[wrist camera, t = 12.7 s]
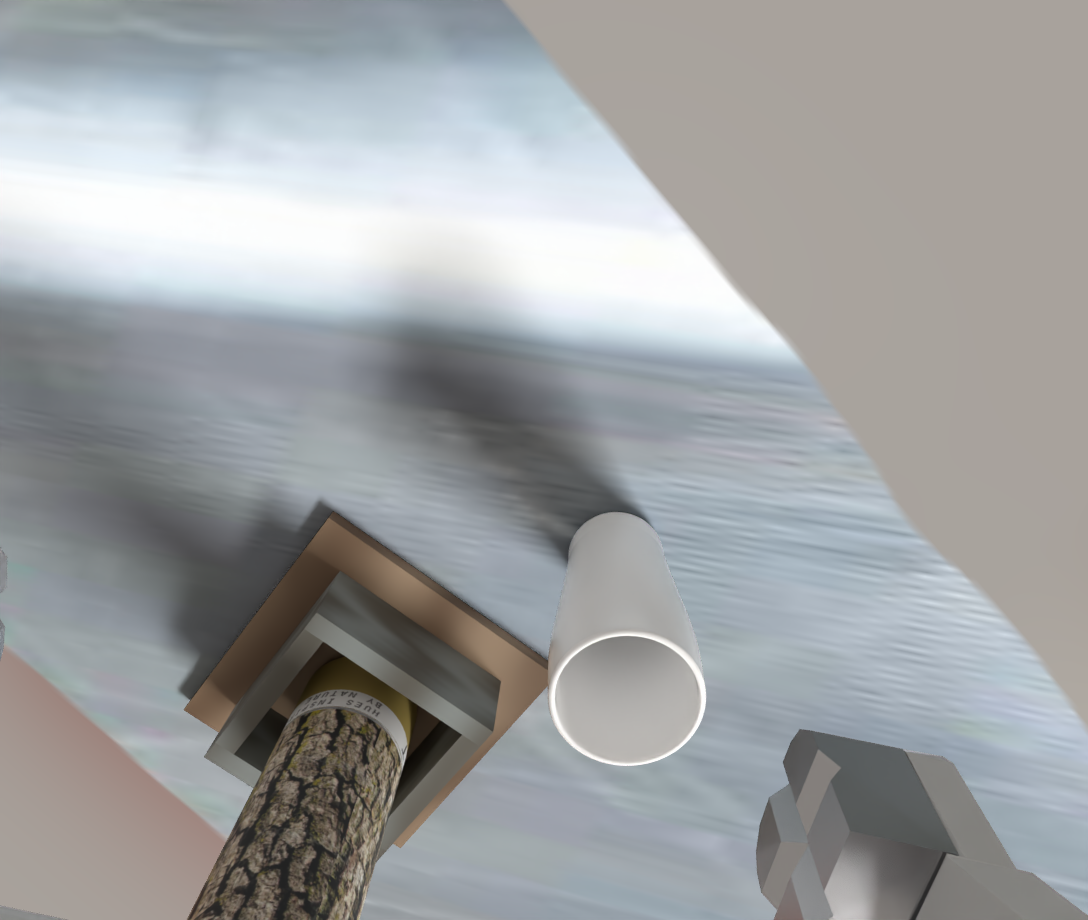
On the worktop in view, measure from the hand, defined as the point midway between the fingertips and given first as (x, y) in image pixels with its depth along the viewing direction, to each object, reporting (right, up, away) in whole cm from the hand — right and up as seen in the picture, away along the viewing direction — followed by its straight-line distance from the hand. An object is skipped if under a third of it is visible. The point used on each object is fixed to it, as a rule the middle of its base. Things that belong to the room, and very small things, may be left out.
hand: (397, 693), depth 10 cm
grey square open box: (-9, -11, +47) cm, 50 cm away
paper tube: (-9, -12, +47) cm, 49 cm away
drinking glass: (+6, -3, +44) cm, 45 cm away
